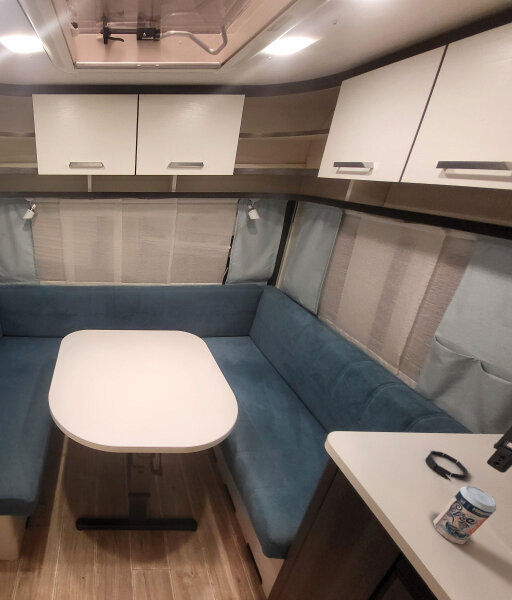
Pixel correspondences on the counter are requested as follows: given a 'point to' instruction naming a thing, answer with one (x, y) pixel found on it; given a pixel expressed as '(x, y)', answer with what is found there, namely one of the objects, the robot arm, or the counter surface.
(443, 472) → the black ring
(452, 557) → the counter surface
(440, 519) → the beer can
